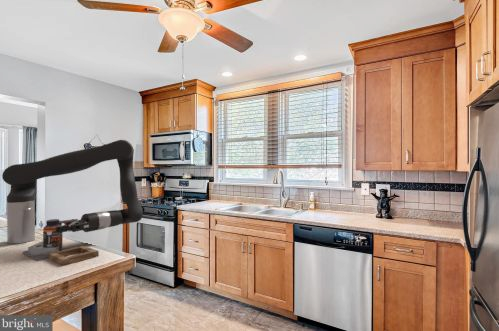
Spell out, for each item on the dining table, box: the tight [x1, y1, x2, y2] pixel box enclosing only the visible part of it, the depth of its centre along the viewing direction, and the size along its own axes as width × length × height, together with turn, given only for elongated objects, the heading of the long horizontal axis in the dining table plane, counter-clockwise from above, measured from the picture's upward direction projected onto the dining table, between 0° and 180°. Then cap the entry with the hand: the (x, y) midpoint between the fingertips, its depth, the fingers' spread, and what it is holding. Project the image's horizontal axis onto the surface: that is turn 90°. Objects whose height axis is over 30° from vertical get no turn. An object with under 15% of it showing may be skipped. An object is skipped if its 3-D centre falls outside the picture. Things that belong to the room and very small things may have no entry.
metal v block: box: [22, 240, 63, 262], centre depth 100 cm, size 15×9×3 cm, turn 55°
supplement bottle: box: [42, 218, 63, 250], centre depth 103 cm, size 6×6×11 cm
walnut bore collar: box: [48, 245, 100, 266], centre depth 96 cm, size 12×11×2 cm
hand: (51, 228), depth 102 cm, fingers open, 8 cm apart
